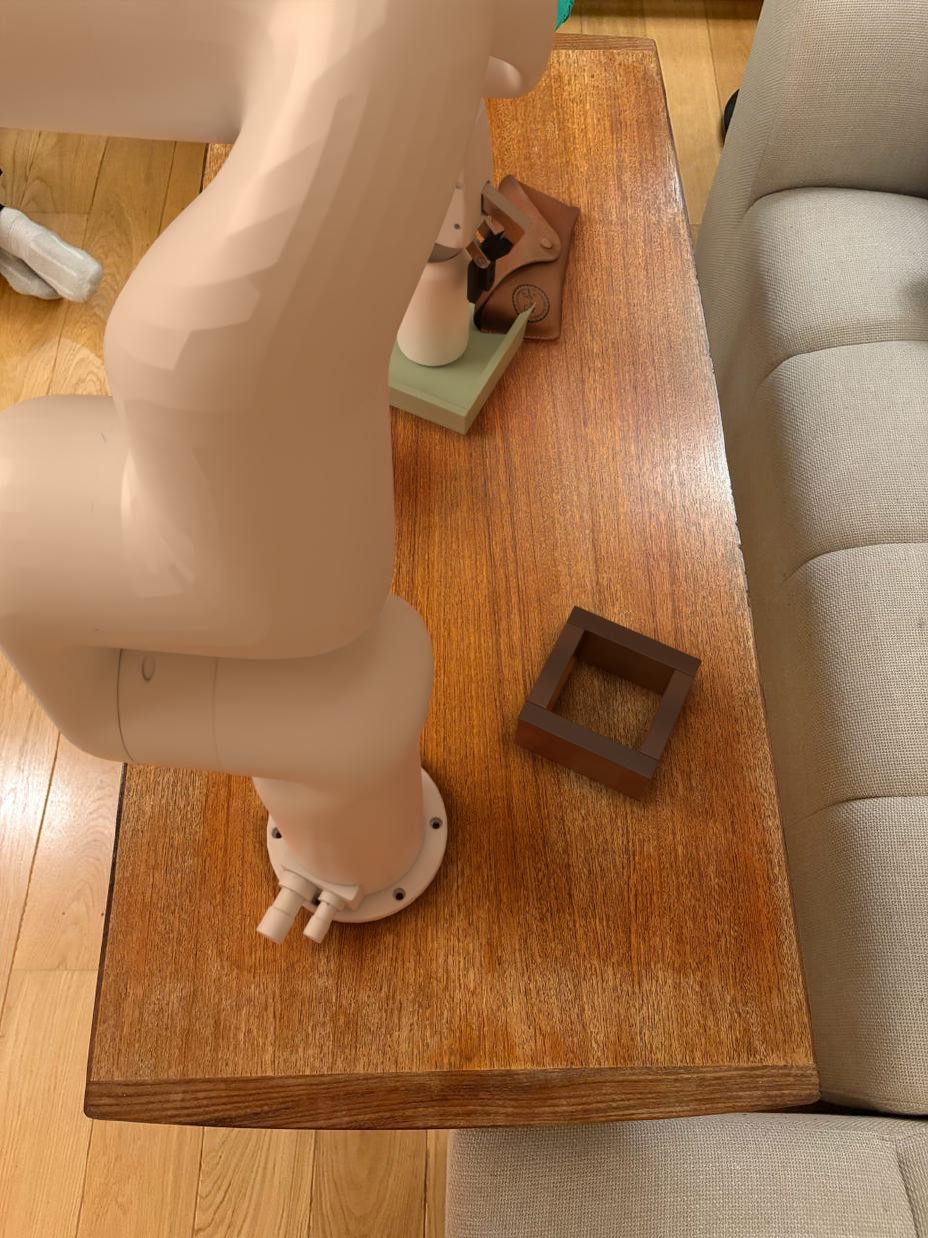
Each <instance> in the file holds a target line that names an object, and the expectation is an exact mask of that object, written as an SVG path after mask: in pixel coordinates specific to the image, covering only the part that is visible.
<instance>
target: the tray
mask: <svg viewBox="0 0 928 1238" xmlns="http://www.w3.org/2000/svg"><path fill="white" fill-rule="evenodd" d="M535 304H536V302H535ZM535 304H534V305H533V306H532V308H530V309H528V310H527V311H525V312H523V313H521V314H519V316H518V317H517V319H516V321H515V322H514V324H513V325H512V327H511V329H510V330H509V332H508V333H507V335H504V334H503V335H501V334H492V333H491V334H489V333H482V332H480V331H479V330H478V328H477V327H476V326H475V324H474V321H473V314H474V308H475V304H473V303H470V317H469V340H468V345H467V348H466V350H465V351H464V353H463V354H462V355H461V356H460V357H459V358H458V359H456V360H455V361H453V362H451V363H449V364H446V365H443V366H436V367H431V366H424V365H420V364H418V363H416V362H414V361H412V360H410V359H409V358H407V357H406V356H405V355H404V354H403V352H402V351H401V349H400V347H399V345H398V340H397V337H396V340H395V344H394V348H393V351H392V355H391V358H390V364H389V406H392V407H394V408H397V409H398V410H402V411H404V412H407V413H409V414H411V415H414V416H416V417H419V418H421V419H423V420H426V421H428V422H431V423H433V424H436V425H439V426H441V427H443V428H446V429H447V430H451V431H453V432H456V433H458V434H460V435H463V436H466V435H467V433H468V431H469V429H470V428H471V426H472V424H473V423H474V421H475V420H476V418H477V416H478V415H479V413H480V412H481V410H482V409H483V407H484V405H485V404H486V402H487V400H488V399H489V397H490V395H492V392H493V391H494V389H495V388H496V385H498V383H499V380H500V379H501V377H502V376H503V374H504V373H505V371H506V369H507V368H508V366H509V365H510V363H511V361H512V360H513V358H514V356H515V355H516V353H517V351H518V350H519V348H520V347H521V345H522V344H523V341H524V340H525V339H523V337H524V334H525V329H526V324H527V320H528V318H529V316H530V313H531V311H532V310H533V308H534V306H535Z"/></svg>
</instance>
